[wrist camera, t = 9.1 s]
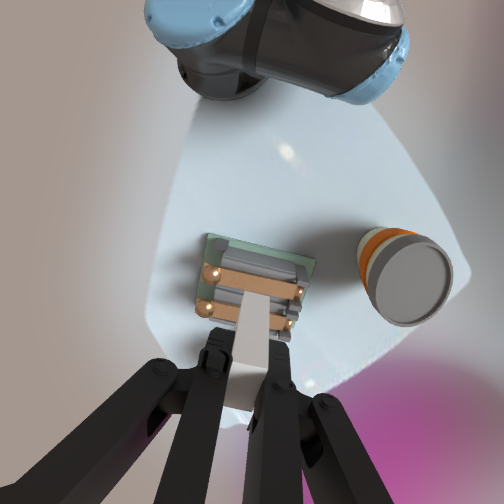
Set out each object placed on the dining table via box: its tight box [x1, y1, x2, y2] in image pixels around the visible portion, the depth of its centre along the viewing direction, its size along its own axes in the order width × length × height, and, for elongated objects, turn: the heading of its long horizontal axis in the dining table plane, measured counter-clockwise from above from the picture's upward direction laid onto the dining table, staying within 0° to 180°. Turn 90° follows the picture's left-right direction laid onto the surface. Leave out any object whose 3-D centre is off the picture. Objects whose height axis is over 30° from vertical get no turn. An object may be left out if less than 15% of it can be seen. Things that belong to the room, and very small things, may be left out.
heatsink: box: [195, 233, 316, 342], centre depth 48 cm, size 13×18×8 cm
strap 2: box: [195, 296, 294, 332], centre depth 45 cm, size 3×15×2 cm, turn 76°
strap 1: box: [201, 263, 305, 301], centre depth 44 cm, size 3×15×2 cm, turn 76°
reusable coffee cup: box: [356, 227, 453, 327], centre depth 42 cm, size 13×13×15 cm
